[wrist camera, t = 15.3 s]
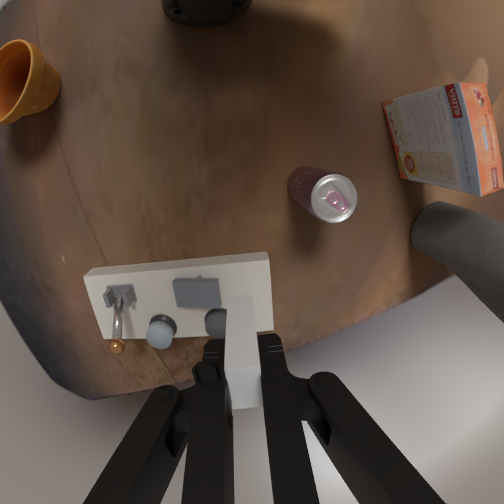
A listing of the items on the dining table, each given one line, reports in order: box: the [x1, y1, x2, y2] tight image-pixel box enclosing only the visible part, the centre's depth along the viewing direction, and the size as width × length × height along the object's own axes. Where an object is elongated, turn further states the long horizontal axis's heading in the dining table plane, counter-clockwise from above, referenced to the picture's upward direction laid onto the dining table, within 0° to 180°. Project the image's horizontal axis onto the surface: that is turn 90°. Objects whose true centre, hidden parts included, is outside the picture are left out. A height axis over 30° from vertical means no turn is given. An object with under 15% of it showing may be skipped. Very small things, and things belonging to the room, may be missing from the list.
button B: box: [146, 321, 174, 349], centre depth 46 cm, size 4×4×2 cm
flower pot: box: [0, 39, 61, 125], centre depth 30 cm, size 14×14×13 cm
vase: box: [411, 201, 504, 323], centre depth 35 cm, size 12×12×30 cm
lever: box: [109, 295, 125, 354], centre depth 42 cm, size 3×3×10 cm
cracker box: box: [382, 83, 504, 197], centre depth 33 cm, size 14×6×21 cm, turn 17°
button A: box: [205, 310, 227, 339], centre depth 47 cm, size 4×4×2 cm
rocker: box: [172, 278, 222, 309], centre depth 44 cm, size 4×7×1 cm, turn 95°
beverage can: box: [288, 167, 357, 223], centre depth 38 cm, size 6×6×15 cm
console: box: [83, 251, 274, 339], centre depth 47 cm, size 13×32×7 cm, turn 95°
